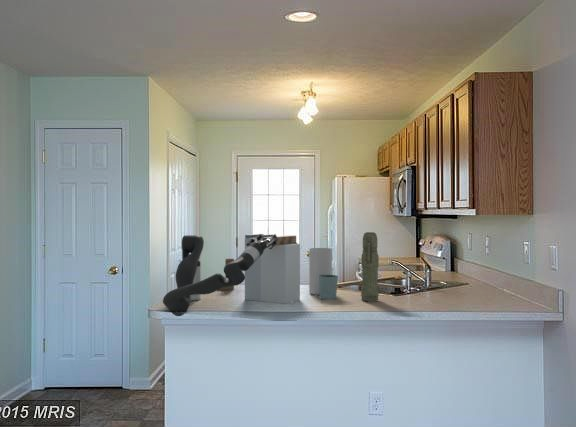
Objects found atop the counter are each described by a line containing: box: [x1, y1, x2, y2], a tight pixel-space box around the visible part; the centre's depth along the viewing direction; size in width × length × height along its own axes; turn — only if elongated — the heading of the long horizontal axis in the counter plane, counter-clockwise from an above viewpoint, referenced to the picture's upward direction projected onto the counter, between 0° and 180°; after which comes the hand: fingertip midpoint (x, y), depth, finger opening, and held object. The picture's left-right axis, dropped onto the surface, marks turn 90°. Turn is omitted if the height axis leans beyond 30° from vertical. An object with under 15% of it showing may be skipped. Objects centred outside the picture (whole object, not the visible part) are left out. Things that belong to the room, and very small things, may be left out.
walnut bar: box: [263, 235, 297, 245], centre depth 288 cm, size 26×4×4 cm, turn 149°
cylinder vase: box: [308, 247, 333, 296], centre depth 315 cm, size 12×12×25 cm
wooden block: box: [218, 258, 235, 291], centre depth 330 cm, size 9×4×18 cm, turn 88°
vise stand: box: [244, 233, 301, 304], centre depth 294 cm, size 14×25×34 cm, turn 58°
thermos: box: [360, 231, 380, 302], centre depth 291 cm, size 9×12×35 cm
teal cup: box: [319, 274, 339, 300], centre depth 299 cm, size 10×10×12 cm
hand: (268, 235), depth 278 cm, fingers open, 8 cm apart
